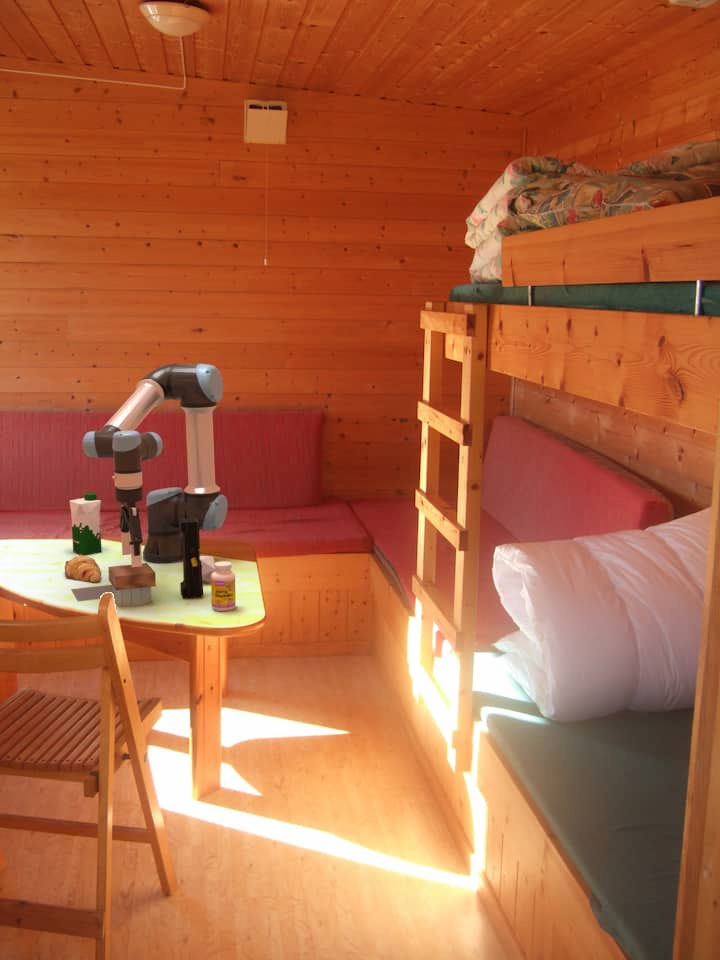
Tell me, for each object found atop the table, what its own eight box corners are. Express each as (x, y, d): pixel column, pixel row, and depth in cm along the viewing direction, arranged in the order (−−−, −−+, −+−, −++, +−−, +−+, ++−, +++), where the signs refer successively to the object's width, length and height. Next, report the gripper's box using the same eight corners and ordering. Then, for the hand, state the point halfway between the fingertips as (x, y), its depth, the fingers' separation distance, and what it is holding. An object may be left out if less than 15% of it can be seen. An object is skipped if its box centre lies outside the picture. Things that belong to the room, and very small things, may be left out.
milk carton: (105, 552, 334) (103, 494, 330) (80, 556, 328) (78, 498, 324) (93, 547, 340) (90, 490, 337) (68, 551, 334) (66, 494, 331)
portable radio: (204, 598, 282) (202, 513, 277) (183, 600, 280) (181, 514, 276) (201, 591, 289) (199, 508, 285) (180, 592, 287) (178, 509, 283)
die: (201, 589, 293) (220, 562, 294) (179, 573, 295) (198, 547, 296) (209, 591, 301) (227, 565, 302) (187, 575, 303) (205, 550, 304)
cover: (147, 576, 285) (146, 562, 284) (155, 586, 275) (155, 572, 274) (109, 580, 280) (108, 566, 280) (116, 590, 271) (115, 576, 270)
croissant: (107, 593, 299) (117, 569, 300) (79, 583, 292) (90, 559, 293) (75, 577, 314) (85, 554, 315) (48, 568, 307) (59, 544, 308)
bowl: (146, 594, 285) (146, 576, 284) (154, 604, 276) (153, 585, 275) (111, 598, 281) (111, 580, 280) (118, 608, 272) (117, 589, 271)
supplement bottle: (211, 612, 269) (210, 567, 267) (211, 605, 276) (210, 560, 274) (236, 611, 270) (235, 566, 268) (235, 604, 277) (234, 560, 275)
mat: (115, 585, 295) (115, 584, 295) (123, 597, 283) (123, 596, 283) (71, 590, 289) (71, 589, 289) (77, 602, 278) (77, 601, 278)
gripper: (107, 479, 282) (110, 551, 287) (123, 496, 260) (127, 573, 264) (133, 477, 285) (136, 548, 290) (151, 493, 263) (154, 570, 267)
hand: (131, 560), depth 277 cm, fingers open, 13 cm apart
